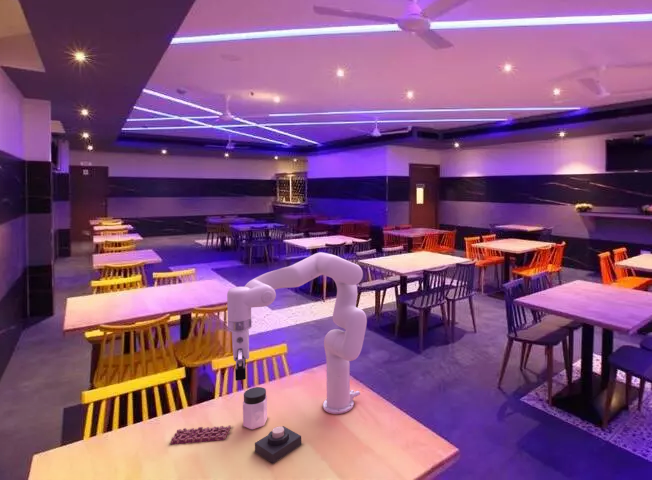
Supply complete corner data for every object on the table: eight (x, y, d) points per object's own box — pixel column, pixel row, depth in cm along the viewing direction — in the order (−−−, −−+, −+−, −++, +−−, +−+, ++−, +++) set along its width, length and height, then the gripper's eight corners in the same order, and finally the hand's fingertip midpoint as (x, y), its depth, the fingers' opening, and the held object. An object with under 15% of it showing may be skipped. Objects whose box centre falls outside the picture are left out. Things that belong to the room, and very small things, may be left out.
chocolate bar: (226, 440, 143) (226, 435, 143) (170, 445, 141) (170, 439, 141) (232, 428, 150) (232, 423, 150) (179, 432, 148) (179, 427, 148)
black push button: (283, 434, 146) (283, 421, 146) (301, 444, 140) (301, 430, 140) (254, 452, 137) (254, 437, 136) (273, 463, 131) (272, 449, 130)
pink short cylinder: (279, 430, 141) (279, 424, 141) (286, 434, 139) (286, 428, 139) (269, 436, 138) (269, 430, 138) (277, 440, 135) (277, 434, 135)
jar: (245, 432, 148) (245, 400, 147) (240, 421, 154) (240, 391, 154) (270, 424, 152) (269, 393, 152) (264, 414, 159) (263, 384, 159)
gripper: (251, 331, 129) (252, 382, 130) (251, 314, 145) (252, 361, 146) (226, 334, 126) (227, 387, 127) (228, 317, 142) (229, 364, 143)
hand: (240, 373), depth 136 cm, fingers open, 9 cm apart
